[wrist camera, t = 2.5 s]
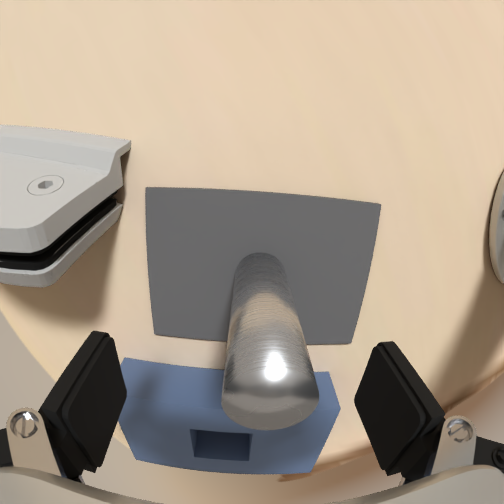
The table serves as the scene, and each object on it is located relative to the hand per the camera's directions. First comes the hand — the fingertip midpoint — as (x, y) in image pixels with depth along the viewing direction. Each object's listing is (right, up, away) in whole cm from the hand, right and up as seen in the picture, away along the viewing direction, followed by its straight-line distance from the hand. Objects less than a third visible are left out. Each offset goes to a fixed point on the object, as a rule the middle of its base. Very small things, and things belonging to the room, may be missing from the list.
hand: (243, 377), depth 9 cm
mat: (+1, +3, +8) cm, 9 cm away
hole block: (-2, -9, +12) cm, 16 cm away
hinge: (-16, +10, +6) cm, 19 cm away
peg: (+1, +3, +8) cm, 9 cm away
